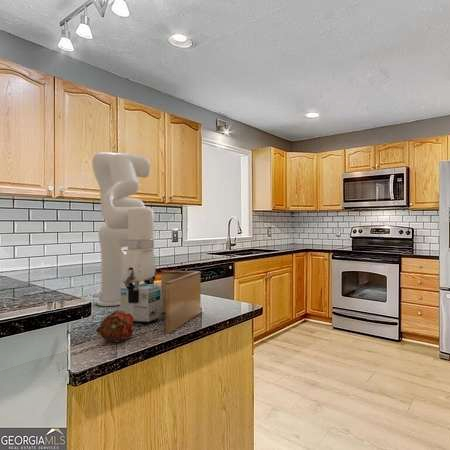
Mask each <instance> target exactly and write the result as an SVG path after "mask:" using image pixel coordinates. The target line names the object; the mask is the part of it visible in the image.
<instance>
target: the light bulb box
mask: <svg viewBox="0 0 450 450" xmlns="http://www.w3.org/2000/svg"><path fill="white" fill-rule="evenodd" d="M132 284H133V285H135V283H132ZM137 290H139V302H138V303H129V302H128V290H127V287H126V286H121V287H120V305H119V308H120V310H119V311H124V312H125V314H127V313H129V314H131V315H132V316H133V318H134V319H133V322H144V323H145V322H147V323H149V322H152V321H154V320H156V319H158V318H161V317H162V312H161V284H155V283H154V284H145V283H139V285H138V288H137Z"/></svg>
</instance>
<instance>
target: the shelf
mask: <svg viewBox="0 0 450 450" xmlns="http://www.w3.org/2000/svg"><path fill="white" fill-rule="evenodd" d="M201 274H202V272H201V271H197V270H194V271H193V270H191V271H190V270H162V271H160V275H161V276H160V277H161V283H160V285H161V313H165V333H168V334H170V333H171V332H173V331H175V330H176V329H178V328H180V327H181V326H183V325H184V324H186V323H188V322H189V321H191V320H192V319H194V318H195V317H197V316H198V315H200V314H201V313H202V312H201V306H202V305H201V302H202V301H201V299H202V298H201Z"/></svg>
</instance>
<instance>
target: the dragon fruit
mask: <svg viewBox="0 0 450 450" xmlns="http://www.w3.org/2000/svg"><path fill="white" fill-rule="evenodd" d="M133 319H134V318H133V316H132V315H131V314H129V313H127V314H125V312H124V311H120V310H119V309H118V310H115V311H114V312H111V313H110V314H107V316H105V317H104V318H103V319H102V321H101V323H99V326H98V327H96V328H95V332H96V333H97V334H99V335H100V337H101V338H102V339H103V340H105V341H107V342H110V341H111V342H114V343H121V342H122V341H123V340H124V339H126V338H130V337H131V336H132V335H133V333H134V330H135V327H134V326H135V325H134V321H133Z"/></svg>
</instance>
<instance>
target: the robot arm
mask: <svg viewBox="0 0 450 450" xmlns="http://www.w3.org/2000/svg"><path fill="white" fill-rule="evenodd" d="M92 169H93V174H94V177H95V180H96V181H97V184H98V187H99V197H100V209H101V211H100V212H101V215H102V218H103V220H104V223H105V224H103V225H102V226H100V227H99V229H98V240H99V246H100V260H101V266H100V267H101V268H100V269H101V273H100V274H101V276H100V277H101V279H100V281H101V283H100V285H101V291H95V292H94V293H93V298H98V300H97V301H96V305H97V306H101V307H114V306H116V307H117V306H120V287H121V286H126V287H127V290H128V302H129V303H138V302H139V290H137V288H138V285H139V284H140V282H142V281H143V284H155V280H156V277H157V274H158V272H157V269H156V259H155V251H154V249H155V242H154V241H155V240H154V239H155V238H154V237H155V236H154V233H155V232H154V230H155V229H154V228H155V227H154V224H155V223H154V221H155V220H154V218H155V217H154V216H155V213H154V210H153V208H151V207H148V206H147V207H146V206H145V203H144V202H143V200H141V199H140V198H133V197H132V198H131V197H130V196H132V195H134V194H136V193H137V192H138V191H139V190H140V182H139V178H148V177H149V176H150V175H151V172H152V165H151V161H150V160H149V158H148V157H146V156H144V155H140V154H132V153H125V152H108V151H101V152H97V153H95V154H94V155H93V157H92ZM122 248H127V250H126V251H124V249H122ZM134 283H135V285H133V284H134Z"/></svg>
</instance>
